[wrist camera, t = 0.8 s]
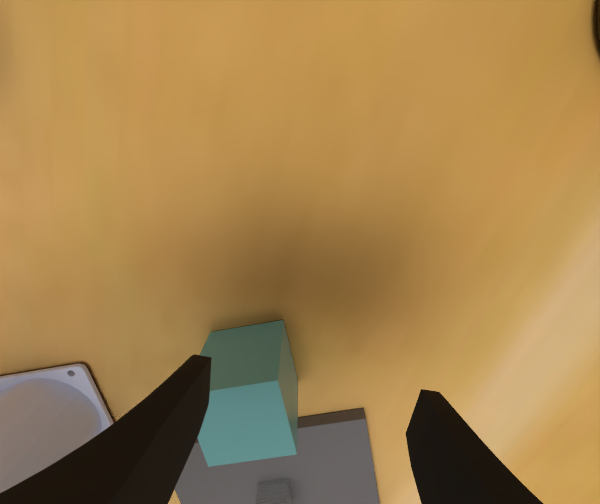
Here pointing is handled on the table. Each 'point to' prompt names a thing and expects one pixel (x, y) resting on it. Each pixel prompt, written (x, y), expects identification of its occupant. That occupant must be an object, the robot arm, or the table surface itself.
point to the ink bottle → (598, 19)
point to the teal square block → (250, 395)
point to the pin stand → (292, 469)
